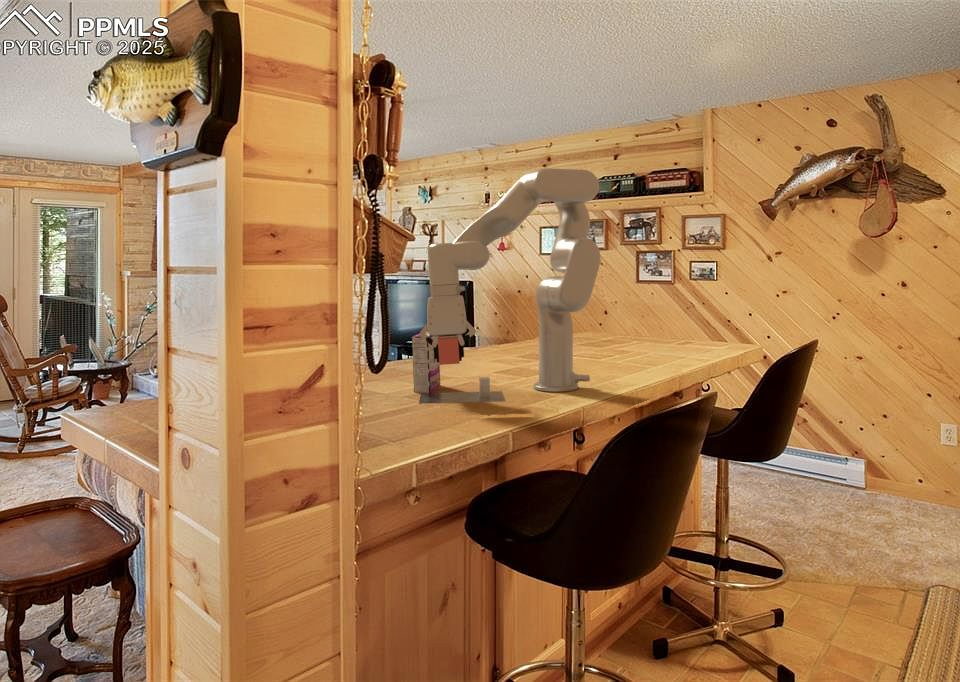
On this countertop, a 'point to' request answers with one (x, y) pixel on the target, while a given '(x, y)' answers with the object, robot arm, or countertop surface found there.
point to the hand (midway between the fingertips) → (449, 360)
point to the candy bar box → (424, 365)
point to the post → (465, 395)
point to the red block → (448, 350)
